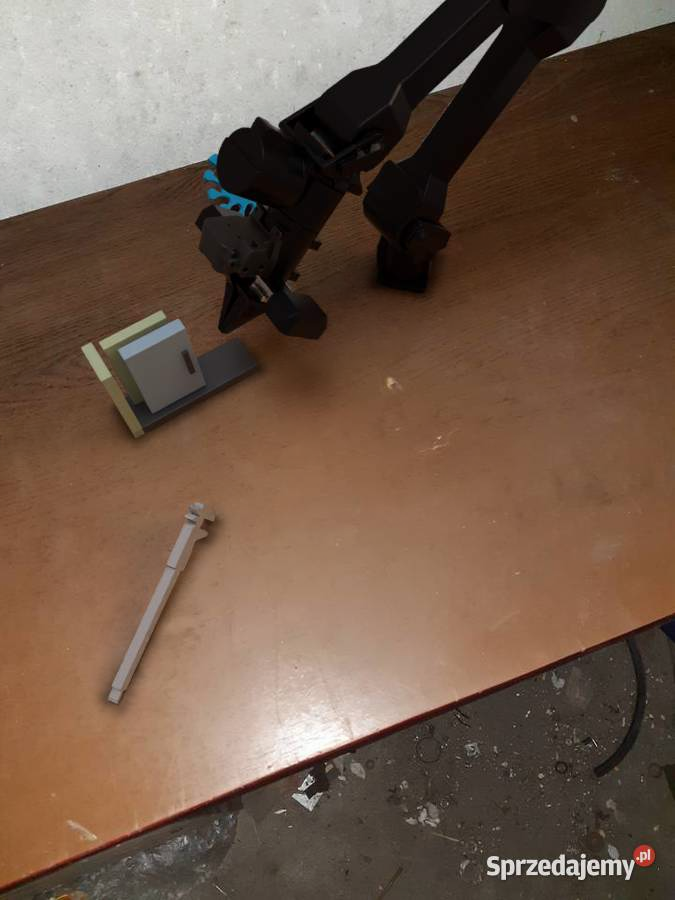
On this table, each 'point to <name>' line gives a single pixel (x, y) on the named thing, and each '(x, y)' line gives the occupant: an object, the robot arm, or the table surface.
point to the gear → (231, 198)
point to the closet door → (163, 365)
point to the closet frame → (218, 374)
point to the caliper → (161, 595)
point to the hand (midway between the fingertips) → (222, 331)
